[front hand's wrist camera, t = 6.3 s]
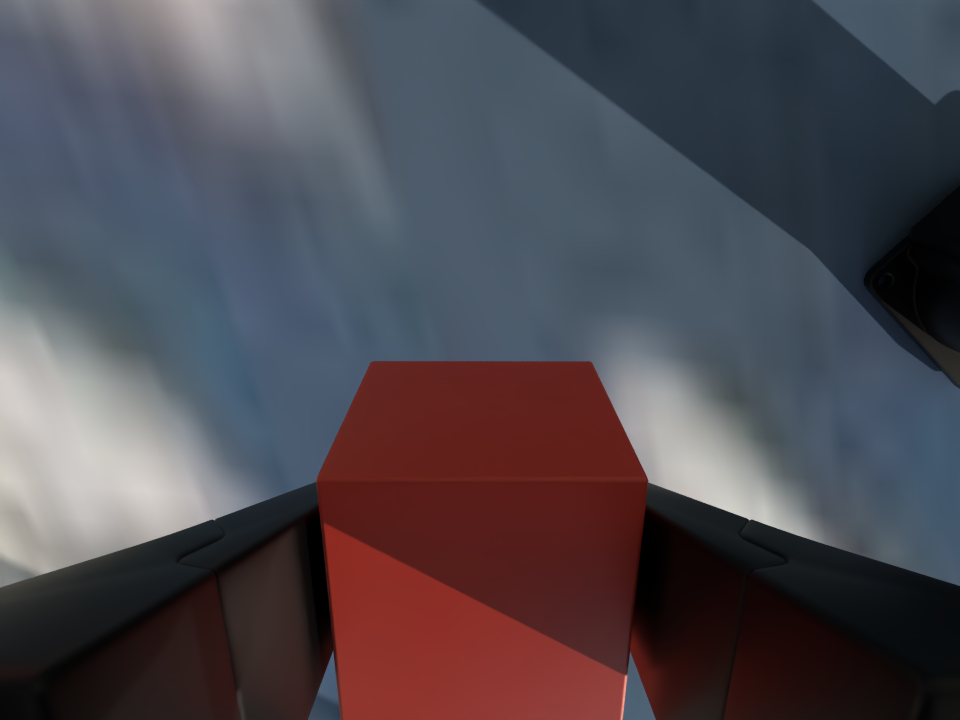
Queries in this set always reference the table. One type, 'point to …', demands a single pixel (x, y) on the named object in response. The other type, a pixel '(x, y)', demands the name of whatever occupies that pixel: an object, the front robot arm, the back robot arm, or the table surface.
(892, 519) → the table surface
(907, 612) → the front robot arm
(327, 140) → the table surface
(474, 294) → the table surface
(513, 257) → the table surface
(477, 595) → the brick
